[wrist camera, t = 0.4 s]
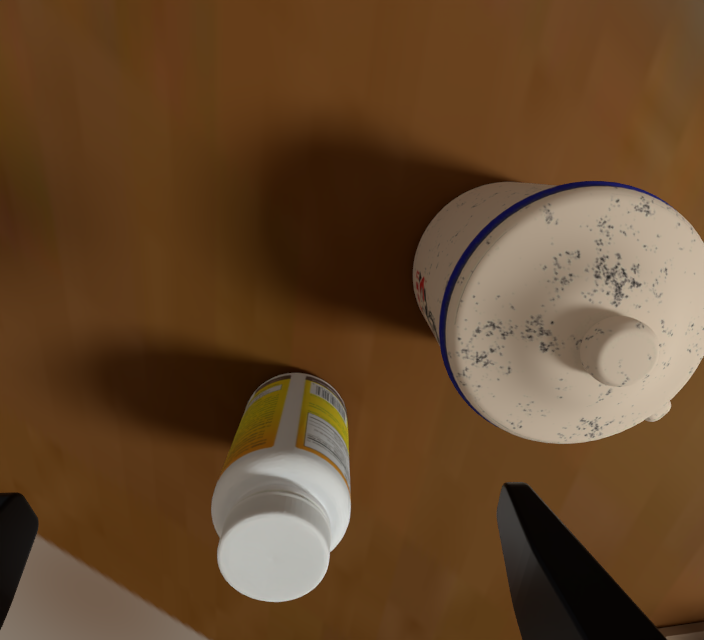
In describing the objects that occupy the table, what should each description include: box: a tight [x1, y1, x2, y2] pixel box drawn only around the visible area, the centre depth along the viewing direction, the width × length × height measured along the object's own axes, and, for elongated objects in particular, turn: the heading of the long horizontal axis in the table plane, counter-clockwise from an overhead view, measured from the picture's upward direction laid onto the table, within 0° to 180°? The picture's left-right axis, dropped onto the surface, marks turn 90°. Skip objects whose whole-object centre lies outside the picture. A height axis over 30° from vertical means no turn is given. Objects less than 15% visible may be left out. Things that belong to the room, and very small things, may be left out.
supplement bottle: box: [211, 373, 351, 602], centre depth 21 cm, size 6×6×10 cm
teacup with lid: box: [413, 181, 704, 444], centre depth 19 cm, size 12×9×12 cm
